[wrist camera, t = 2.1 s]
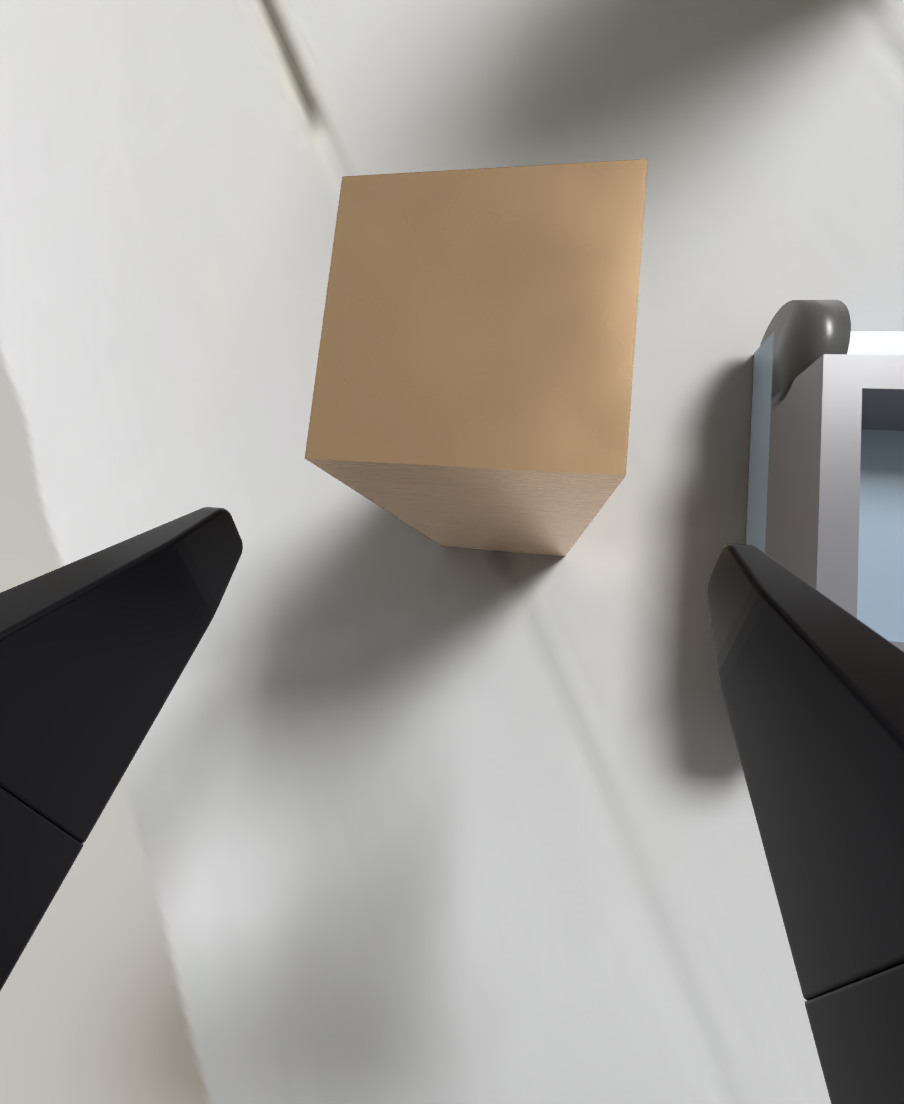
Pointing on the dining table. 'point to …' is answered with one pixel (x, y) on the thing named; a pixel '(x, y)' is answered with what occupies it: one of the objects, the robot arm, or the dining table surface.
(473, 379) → the tall tan wooden block
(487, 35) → the dining table surface
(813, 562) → the chassis
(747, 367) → the dining table surface
